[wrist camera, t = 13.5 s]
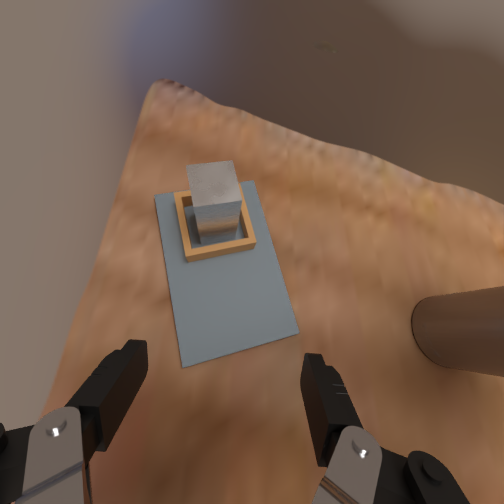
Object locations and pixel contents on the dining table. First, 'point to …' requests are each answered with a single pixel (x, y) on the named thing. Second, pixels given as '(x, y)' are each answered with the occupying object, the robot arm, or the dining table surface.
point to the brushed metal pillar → (215, 200)
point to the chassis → (223, 281)
